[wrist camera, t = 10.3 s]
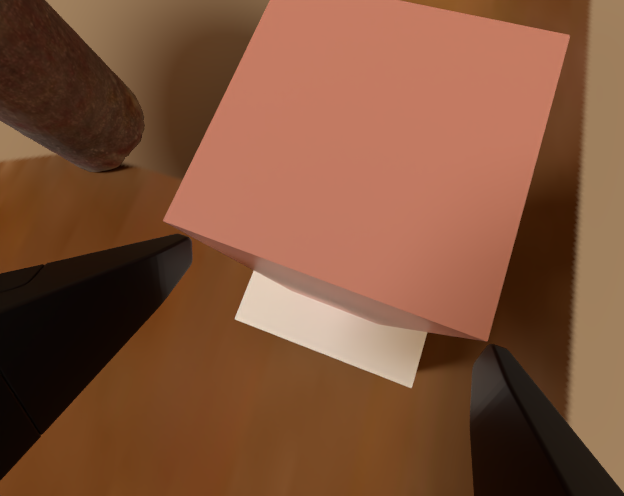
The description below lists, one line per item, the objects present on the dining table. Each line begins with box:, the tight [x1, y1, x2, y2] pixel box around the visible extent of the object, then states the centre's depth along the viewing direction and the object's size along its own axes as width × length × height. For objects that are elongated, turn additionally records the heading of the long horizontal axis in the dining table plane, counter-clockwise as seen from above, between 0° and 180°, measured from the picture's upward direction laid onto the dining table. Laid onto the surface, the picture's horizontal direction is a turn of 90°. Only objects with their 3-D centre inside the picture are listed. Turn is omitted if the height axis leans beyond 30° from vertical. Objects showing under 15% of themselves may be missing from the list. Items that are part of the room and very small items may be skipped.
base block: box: [235, 271, 427, 388], centre depth 20 cm, size 10×10×4 cm
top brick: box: [163, 0, 570, 342], centre depth 11 cm, size 5×5×13 cm
